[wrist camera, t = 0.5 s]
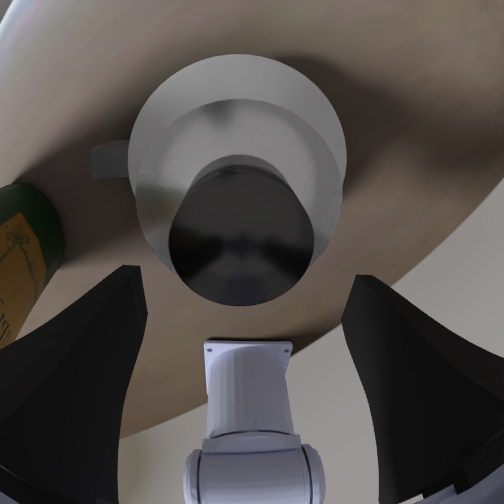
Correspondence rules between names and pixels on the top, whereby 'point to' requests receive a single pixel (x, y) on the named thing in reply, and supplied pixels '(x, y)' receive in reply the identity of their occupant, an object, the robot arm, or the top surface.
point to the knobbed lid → (239, 199)
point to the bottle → (25, 254)
